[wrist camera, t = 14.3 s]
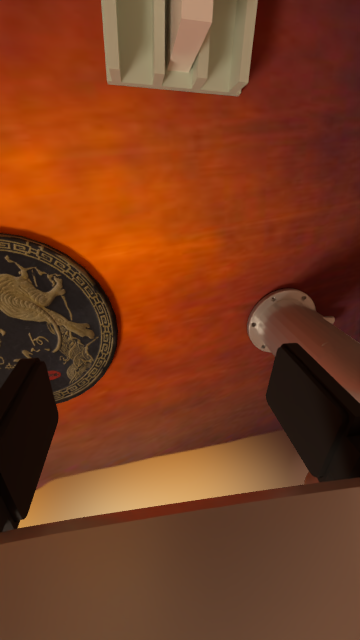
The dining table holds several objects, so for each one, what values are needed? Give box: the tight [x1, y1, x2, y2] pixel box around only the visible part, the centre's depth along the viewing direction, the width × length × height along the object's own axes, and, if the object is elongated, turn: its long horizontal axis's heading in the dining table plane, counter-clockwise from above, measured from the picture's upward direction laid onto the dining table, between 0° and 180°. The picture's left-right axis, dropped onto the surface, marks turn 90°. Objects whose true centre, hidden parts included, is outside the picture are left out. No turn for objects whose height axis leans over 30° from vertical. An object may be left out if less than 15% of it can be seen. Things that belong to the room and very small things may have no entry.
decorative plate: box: [0, 233, 118, 404], centre depth 40 cm, size 30×2×30 cm
